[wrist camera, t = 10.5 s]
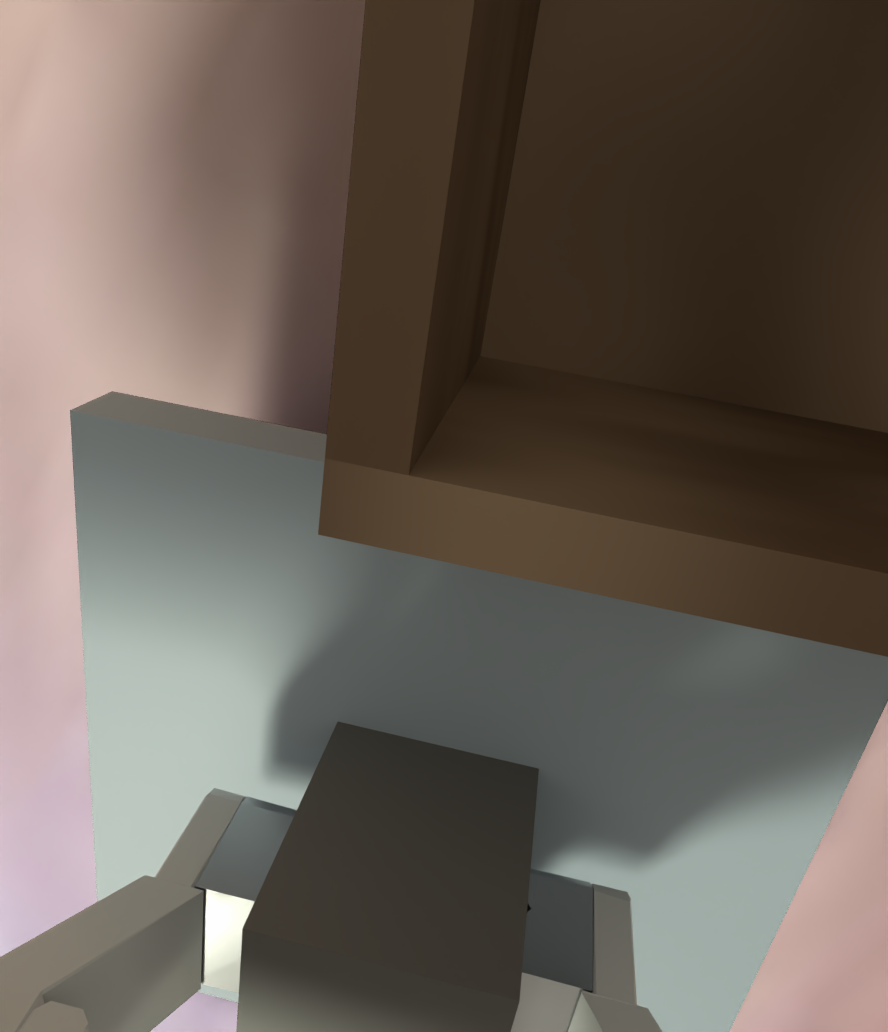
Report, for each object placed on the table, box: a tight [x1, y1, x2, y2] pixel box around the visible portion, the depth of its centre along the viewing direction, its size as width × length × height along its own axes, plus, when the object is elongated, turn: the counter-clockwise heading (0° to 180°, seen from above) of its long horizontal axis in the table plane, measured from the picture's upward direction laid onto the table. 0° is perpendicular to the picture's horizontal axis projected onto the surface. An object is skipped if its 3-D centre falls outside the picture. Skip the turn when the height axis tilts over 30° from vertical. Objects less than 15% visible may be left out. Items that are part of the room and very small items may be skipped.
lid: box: [70, 391, 888, 1032], centre depth 11 cm, size 11×11×6 cm
